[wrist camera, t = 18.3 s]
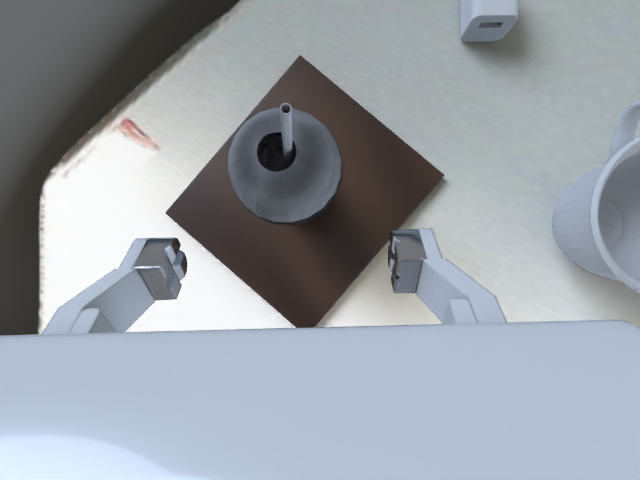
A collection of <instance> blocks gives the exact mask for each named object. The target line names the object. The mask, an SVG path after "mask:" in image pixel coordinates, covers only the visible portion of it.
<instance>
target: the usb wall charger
mask: <svg viewBox="0 0 640 480" xmlns="http://www.w3.org/2000/svg"><path fill="white" fill-rule="evenodd" d="M460 11H461V40H462V41H465V42H471V41H497V40H500V39H502V38H503V37H504V36H505V35H506V33H507V32H508V31H509V30H510V28H511V27H512V26H513V25H514V23H515V22H516V21H517V20H518V0H460Z"/></svg>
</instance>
